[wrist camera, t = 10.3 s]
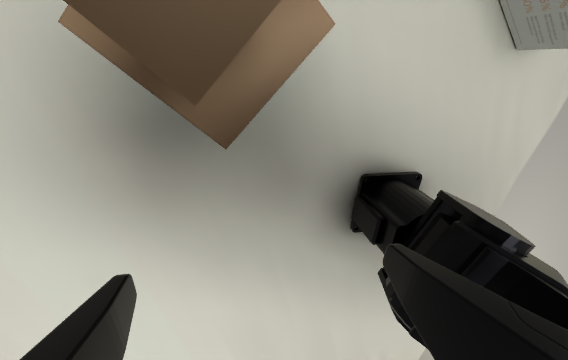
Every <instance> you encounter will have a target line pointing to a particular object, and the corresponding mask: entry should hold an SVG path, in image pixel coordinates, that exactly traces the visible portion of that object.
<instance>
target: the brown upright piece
mask: <svg viewBox="0 0 568 360" xmlns="http://www.w3.org/2000/svg"><path fill="white" fill-rule="evenodd" d="M63 1H65V2H66V3H67V4H68V6H67V8H66V9H65V11H64V12H63V14H62V16H61V17H60V19H59V21H58V22H59V23H61V24H62V25H63V26H64V27H66V28H67V29H68V30H70V31H71V32H72V33H74V34H75V35H76V36H78V37H79V38H80V39H82V40H83V41H84V42H85V43H87V44H88V45H89V46H91V47H92V48H93V49H95V50H96V51H97V52H99V53H100V54H101V55H103V56H104V57H105V58H106V59H108V60H109V61H110V62H112V63H113V64H114V65H116V66H117V67H118V68H120V69H121V70H122V71H124V72H125V73H126V74H127V75H129V76H130V77H131V78H133V79H134V80H135V81H137V82H138V83H139V84H141V85H142V86H143V87H145V88H146V89H147V90H148V91H150V92H151V93H152V94H154V95H155V96H156V97H158V98H159V99H160V100H162V101H163V102H164V103H166V104H167V105H168V106H170V107H171V108H172V109H173V110H175V111H176V112H177V113H179V114H180V115H181V116H183V117H184V118H185V119H187V120H188V121H189V122H191V123H192V124H193V125H194V126H196V127H197V128H198V129H200V130H201V131H202V132H204V133H205V134H206V135H208V136H209V137H210V138H212V139H213V140H214V141H215V142H217V143H218V144H219V145H221V146H222V147H223V148H225V149H227V148H228V146H229V145H230V144H231V143H232V142H233V141H234V140H235V138H236V137H237V136H238V135H239V134H240V133H241V132H242V130H243V129H244V128H245V127H246V126H247V125H248V124H249V122H250V121H251V120H252V119H253V118H254V117H255V116H256V114H257V113H258V112H259V111H260V110H261V109H262V108H263V106H264V105H265V104H266V103H267V102H268V101H269V100H270V98H271V97H272V96H273V95H274V94H275V93H276V92H277V90H278V89H279V88H280V87H281V86H282V85H283V84H284V82H285V81H286V80H287V79H288V78H289V77H290V76H291V74H292V73H293V72H294V71H295V70H296V69H297V68H298V66H299V65H300V64H301V63H302V62H303V61H304V60H305V58H306V57H307V56H308V55H309V54H310V53H311V52H312V50H313V49H314V48H315V47H316V46H317V45H318V44H319V42H320V41H321V40H322V39H323V38H324V37H325V36H326V34H327V33H328V32H329V31H330V30H331V29H332V28H333V26H334V25H335V23H334V21H333V20H332V18H331V17H330V16H329V14H328V13H327V12H326V10H325V9H324V7H323V6H322V5H321V3H320V2H319V1H318V0H63Z"/></svg>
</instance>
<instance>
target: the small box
mask: <svg viewBox="0 0 568 360" xmlns="http://www.w3.org/2000/svg"><path fill="white" fill-rule="evenodd" d="M500 3H501V6H502V8H503V11H504V14H505V17H506V20H507V23H508V26H509V28H510V31H511V34H512V36H513V39H514V42H515V45H516V48H517V49H518V50H529V49H531V50H533V49H568V0H500Z"/></svg>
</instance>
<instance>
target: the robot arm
mask: <svg viewBox="0 0 568 360" xmlns="http://www.w3.org/2000/svg"><path fill="white" fill-rule="evenodd" d="M416 177H417V178H416ZM367 178H368V179H367ZM415 178H416V179H415ZM366 179H367V181H365V180H366ZM421 180H422V175H421V174H420V173H418V172H407V173H384V174H365V175H363V176H362V177H361V179H360V183H359V188H358V193H357V196H356V198H355V203H354V208H353V213H352V222H351V230H352V231H353V232H363V233H364V234H365V236H366V237H367V238H368V239H369V241H370V242H371V243H372V244H373V245H375V244H376V245H377V246H378V247H379V248H380V250H381V251H382V252H383V253H384V258H383V266H384V267H383V268H381V269H380V270H379V272H378V275H379V278H380V280H381V283H382V286H383V288H384V291H385V293H386V296H387V299H388V301H389V304H390V306H391V309H392V311H393V313H394V315H395V317H396V319H397V321H398V322H399V323H400V324H401V325H402V326H403V327H404V328H405V329H406V330H407V331H408V332H409V334H410V335H411V336H412V337H413V338H414V339H415V340H417V341H418V342H419V343H421V344H422V345H423V346H425V347H426V348H427V349H428V350H429V351H430V352H431V354H432V356H433V358H434V359H435V360H568V284H567V283H566V281H565V280H564V279H563V277H562V276H561V274H560V273H559V272H558V271H557V270H555V269H554V268H553V267H551V266H549V265H548V264H546V263H544V262H543V261H541V260H540V259H538V258H536V257H535V256H533V255H531V254H530V253H529V252H530V251H531V250H532V249H533V248H534V247H535V245H534V244H532V243H531V242H530V241H529V240H527V239H526V238H525V237H523V236H522V235H521V234H519V233H518V232H517V231H516V230H514V229H513V228H512V227H510V226H509V225H508V224H506V223H505V222H503V221H502V220H500V219H498V218H496V217H494V216H493V215H491V214H489V213H487V212H486V211H484V210H482V209H480V208H479V207H477V206H475V205H473V204H470V203H468V202H466V201H464V200H462V199H460V198H458V197H455V196H453V195H451V194H449V193H447V192H445V191H443V190H440V191H439V193H438V194H437V195H436V196H437V198H436V199H435V200H433V199H432V198H430V197H429V196H427V195H426V194H424V193H423V192H422V191H420V190H419V186H420V183H421ZM355 227H356V228H355ZM136 297H137V294H136V289H135V286H134V282H133V279H132V276H131V275H130V274H122V275H116V276H114V277H113V278H111V279H110V280H109V281H108V282H107V283H106V284H105V285H104V286H102V287H101V288H100V289H99V290H98V291H97V292H96V293H95V294H93V295H92V296H91V297H90V298H89V299H88V300H87V301H85V302H84V303H83V304H82V305H81V306H80V307H79V308H78V309H76V310H75V311H74V312H73V313H72V314H71V315H70V316H69V317H67V318H66V319H65V320H64V321H63V322H62V323H61V324H59V325H58V326H57V327H56V328H55V329H54V330H53V331H52V332H50V333H49V334H48V335H47V336H46V337H45V338H44V339H42V340H41V341H40V342H39V343H38V344H37V345H36V346H35V347H33V348H32V349H31V350H30V351H29V352H28V353H27V354H26V355H24V356H23V357H22V358H21V359H20V360H123V357H124V353H125V350H126V345H127V341H128V336H129V332H130V327H131V322H132V317H133V313H134V308H135V303H136Z"/></svg>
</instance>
